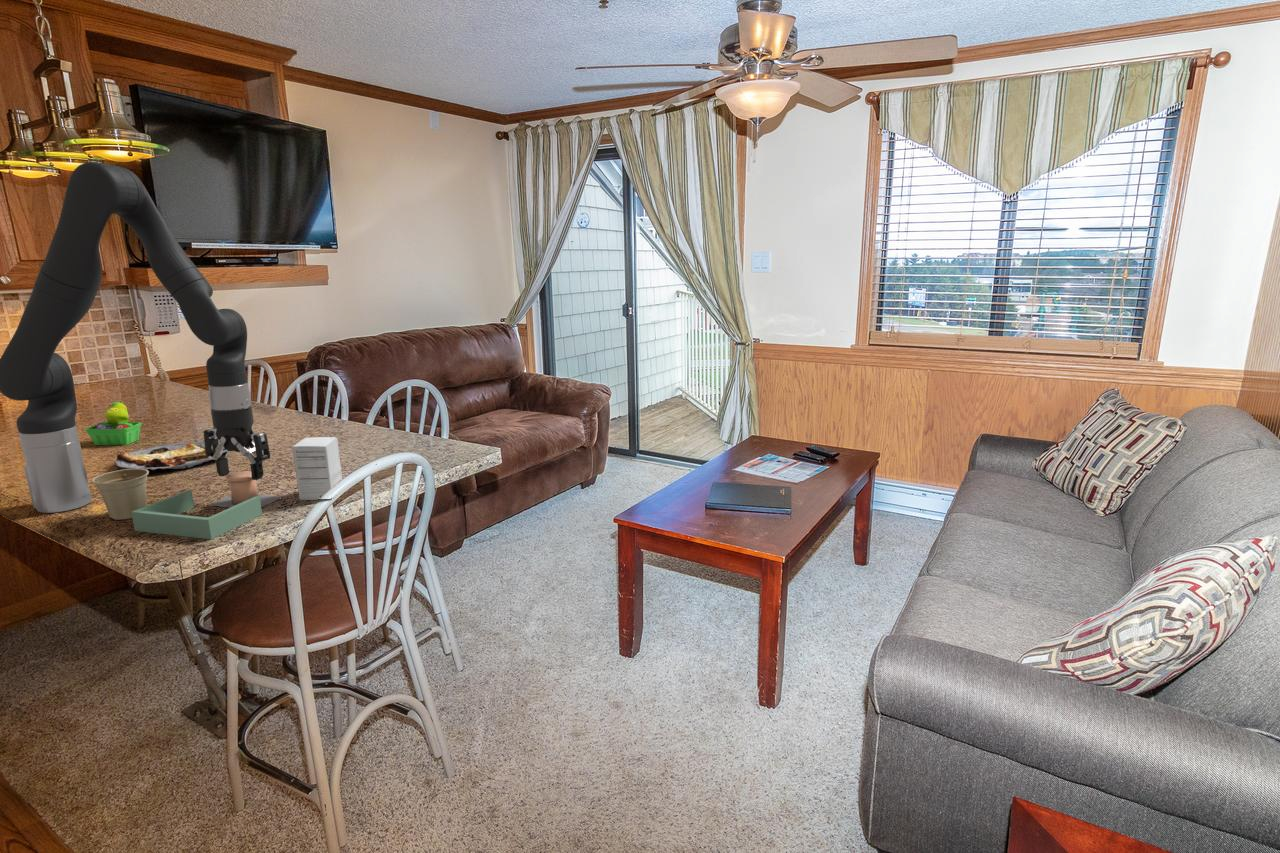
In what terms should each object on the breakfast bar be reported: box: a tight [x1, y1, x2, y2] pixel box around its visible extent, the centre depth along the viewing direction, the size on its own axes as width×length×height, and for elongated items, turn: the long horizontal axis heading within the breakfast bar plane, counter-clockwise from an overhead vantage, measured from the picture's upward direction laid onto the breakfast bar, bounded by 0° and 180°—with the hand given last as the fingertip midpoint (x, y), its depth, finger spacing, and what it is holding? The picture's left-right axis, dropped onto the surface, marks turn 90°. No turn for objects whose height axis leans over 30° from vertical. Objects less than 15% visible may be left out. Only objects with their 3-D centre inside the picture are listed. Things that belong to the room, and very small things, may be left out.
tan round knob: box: [225, 470, 260, 505], centre depth 148 cm, size 6×6×6 cm
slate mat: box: [208, 494, 283, 509], centre depth 149 cm, size 12×8×1 cm, turn 77°
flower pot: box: [91, 469, 150, 521], centre depth 140 cm, size 9×9×9 cm
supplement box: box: [292, 436, 343, 501], centre depth 152 cm, size 7×7×13 cm
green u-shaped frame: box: [131, 489, 263, 540], centre depth 137 cm, size 18×13×4 cm
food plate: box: [113, 441, 214, 472], centre depth 177 cm, size 25×23×4 cm
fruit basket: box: [84, 401, 142, 446], centre depth 193 cm, size 11×9×11 cm
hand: (240, 477), depth 147 cm, fingers open, 8 cm apart
